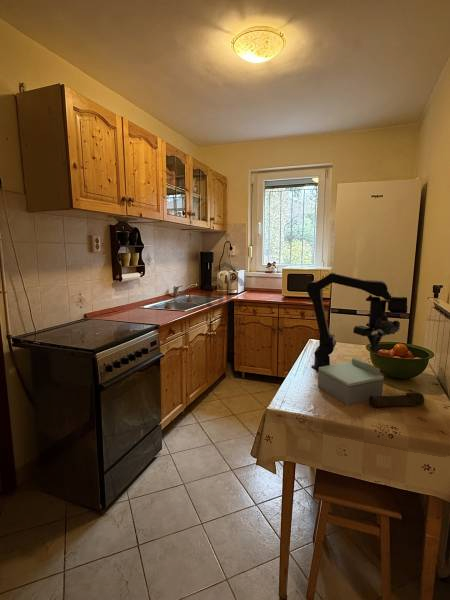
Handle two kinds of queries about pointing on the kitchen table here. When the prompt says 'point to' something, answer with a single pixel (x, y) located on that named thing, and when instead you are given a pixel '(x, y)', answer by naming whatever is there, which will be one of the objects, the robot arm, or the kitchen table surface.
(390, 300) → the robot arm
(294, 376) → the kitchen table surface
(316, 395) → the kitchen table surface
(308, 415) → the kitchen table surface
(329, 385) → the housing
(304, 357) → the kitchen table surface
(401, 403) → the dark brown rough bar
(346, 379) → the lid
